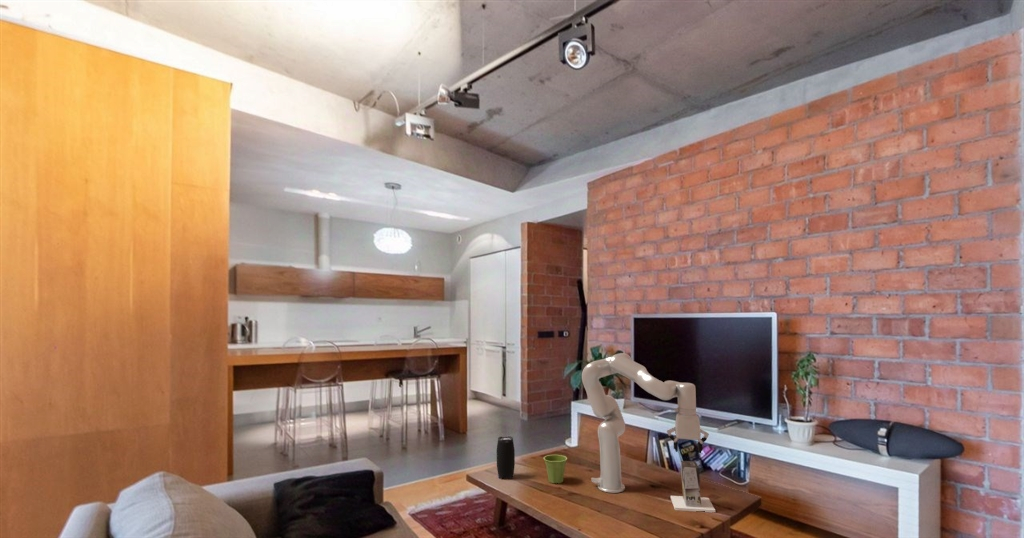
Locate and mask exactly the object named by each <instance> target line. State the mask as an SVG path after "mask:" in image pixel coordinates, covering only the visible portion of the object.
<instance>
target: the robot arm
mask: <svg viewBox="0 0 1024 538" xmlns="http://www.w3.org/2000/svg"><path fill="white" fill-rule="evenodd" d="M632 359H633V358H631V356H630V355H629V354H628V353H624V352H620V353H616V354H613V355H612V356H609V357H606V358H605V357H604V358H602V359H598V360H594V361H591V362H589V363H588V364H586V365H585V366H584V368H583V370H582V373H581V381H582V385H583V386H584V389H585V392H586V395H587V398H588V401H589V404H590V407H591V409H592V412H593V414H594V416H595V417H597V418H598V419H604V420H603V421H601V422H600V423H599V425H598V426H597V437H598V443H599V458H600V460H599V461H600V475H599V477H591V482H592V483H593V484H595V485H596V484H597V488H598V490H599V491H602V492H605V493H610V494H618V493H622V492H624V491H625V489H626V487H625V484H624V483H622V465H621V447H620V443H619V437H620V436H622V435H624V433H625V430H626V422H625V420H624V417H623V414H622V412H621V409H620V406H619V404H618V401H617V400H616V399H615V398H614V397H613V396H612V395H609V394H606V393H605V389H604V387H603V385H602V383H601V382H600V379H601V378H605V377H608V376H610V375H614V374H619V375H621V376H623V377H625V378H626V379H629V380H630V381H632V382H634V383H636V384H637V385H638V386H639V387H640V388H641V389H643V390H644V391H645V392H647V393H648V394H650V395H652V396H653V397H656V398H658V399H660V400H662V401H670V400H672V399H674V398H677V407H675V408H674V409H673V410H674V411H673V412H676V416H675V420H674V421H675V424H674V427H672V428H670V429H667V430H666V433H667V435H668V437H669V439H670V440H671V441H673V449H674V450H675V452H676V453H678V452H679V445H678V444H679V443H678V440H679V439H680V440H690V441H691V440H692V441H693V440H694V441H698V442H697V452H698V453H699V454H702V452H703V444H704V443H705V442H706V441H707V439H708V437H709V435H710V434H709V433H708V432H707V431H705V430H703V429H702V428H701V423H700V418H699V415H698V414H697V397H696V395H697V393H696V385H695V384H694V383H691V382H679V381H676V380H669V379H668V380H665V381H664V382H663V381H662V380H659V379H658V378H657V377H654V376H653V375H652V374H651V373H649V371H648V370H647V368H646V367H645V366H644V365H642V364H640V363H638V362H636V361H634V360H632ZM672 433H674V436H673V435H672ZM701 434H703V437H701Z"/></svg>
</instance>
